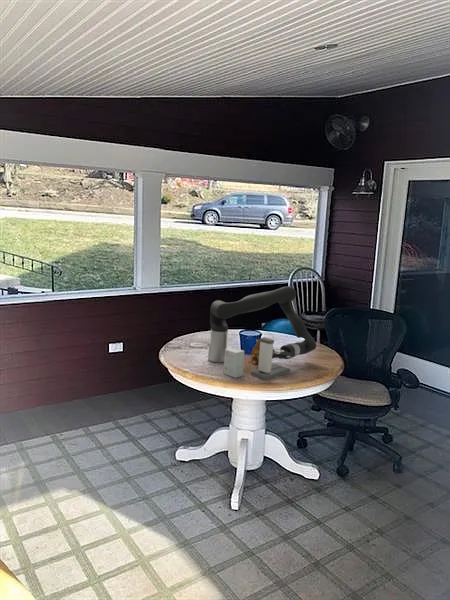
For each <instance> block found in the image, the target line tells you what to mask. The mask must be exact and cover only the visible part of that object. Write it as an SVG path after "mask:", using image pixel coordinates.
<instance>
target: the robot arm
mask: <svg viewBox="0 0 450 600" xmlns="http://www.w3.org/2000/svg"><path fill="white" fill-rule="evenodd" d="M296 295H297V290H295V288H294V287H293V286H283V287H279V288H277V289H274V290H270V291H263V292H259V293H254V294H249V295H246V296H245V297H243V298H242V299H239V300H238V301H231V302H226V301H223V300H220V299H219V300H218V299H217V300H215V301H213V302H212V303H211V305H210V311H209V312H210V313H209V324H210V340H209V341H210V342H209V343H208V351H207V354H208V355H207V361H210V362H213V363H224V358H225V349H228V347H227V346H228V333H229V331H228V330H229V326H228V324H227V321H226V319H230V318H232V317H235V316H238V315H241V314H246V313H247V314H248V313H251V312H257V311H260V310H263V309H265V308H268V307H271V306H272V305H274V304H277V303H278V304H279V306H280V308H281V309H282V311H283V313H284V314H285V316H286V318H287V319H288V321H289V323H290V325H291V328H292V330H293V332H294V335H295V337H296V338H298V339H301V338H303V339H304V340H302V341H301V342H299V341H298V342H294V343H293V342H292V343H288V344H284V345H282V346H280V348H277V349H276V350H275V349H273V352H272V360H273V359H279V360H282V359H284V360H290V359H293V358H295V357H297V356H301V355H306V354H308V353H310V352H313V351H314V350H316V349H317V342H316V340H315V339H314V338H313V336H312V335H311V333H310V332H309V331H308V329H307V327H306V325H305V322H304V321H303V319H302V318H301V317H300V315H298V313H296V311H295V309H294V308H293V305H292V302H293V301H294V300H295V298H296V297H297V296H296Z"/></svg>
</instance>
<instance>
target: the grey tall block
mask: <svg viewBox="0 0 450 600" xmlns="http://www.w3.org/2000/svg"><path fill="white" fill-rule="evenodd" d="M259 340H260V352H259V363H258V364H257V365H258V368H257V369H258V370H260V371H263V372H265V373H269V372H271V365H273V364H272V363H273V359H272V352H273V350H274V344H275V340H274V339H271V338H268V337H265V336H264V337H260V338H259Z"/></svg>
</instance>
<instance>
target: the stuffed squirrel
mask: <svg viewBox="0 0 450 600" xmlns="http://www.w3.org/2000/svg"><path fill="white" fill-rule="evenodd" d="M255 341H256V344H255V345H254V347H253V348H252V351H251V353H250V357H251V364H252V365H255V366H256V365H258V364H259V352H260V339H255Z"/></svg>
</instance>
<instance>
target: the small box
mask: <svg viewBox="0 0 450 600" xmlns="http://www.w3.org/2000/svg"><path fill="white" fill-rule="evenodd" d="M244 362H245V350H243V349H240V348H235V347H230V348H227V349H225V358H224V362H223V374H224V375H227V376H229V377H232V378H239V377H242V376H244V365H245V363H244Z"/></svg>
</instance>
